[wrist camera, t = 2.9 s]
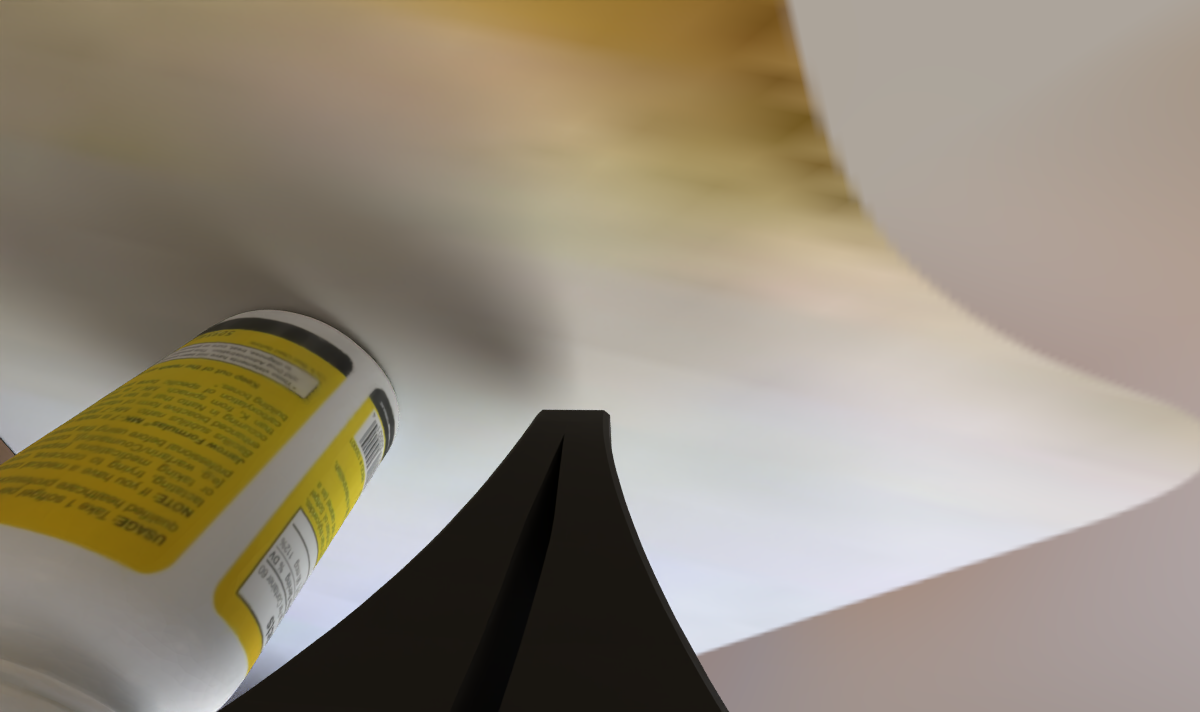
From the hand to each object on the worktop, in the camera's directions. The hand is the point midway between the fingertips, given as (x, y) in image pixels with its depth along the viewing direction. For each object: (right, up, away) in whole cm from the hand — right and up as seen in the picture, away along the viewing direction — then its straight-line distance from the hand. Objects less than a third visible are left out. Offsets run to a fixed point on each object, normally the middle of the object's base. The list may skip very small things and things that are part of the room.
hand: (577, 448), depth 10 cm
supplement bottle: (-7, +1, +2) cm, 7 cm away
